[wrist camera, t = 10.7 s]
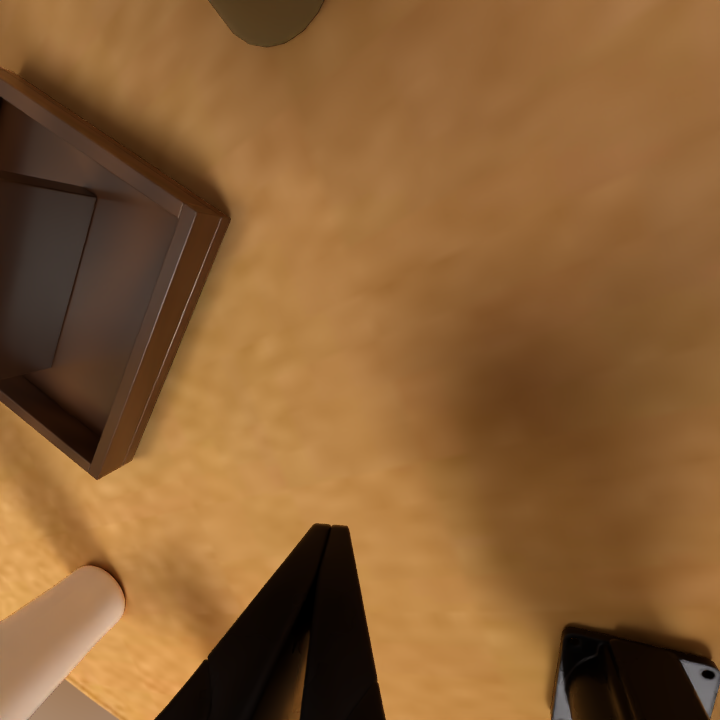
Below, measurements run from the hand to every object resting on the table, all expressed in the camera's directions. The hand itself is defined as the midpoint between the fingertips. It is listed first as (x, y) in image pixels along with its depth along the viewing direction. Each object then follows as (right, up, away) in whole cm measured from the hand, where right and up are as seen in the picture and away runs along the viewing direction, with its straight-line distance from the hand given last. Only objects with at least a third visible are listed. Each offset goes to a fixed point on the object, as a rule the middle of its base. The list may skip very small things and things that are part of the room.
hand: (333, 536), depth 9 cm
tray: (-17, +9, +15) cm, 24 cm away
